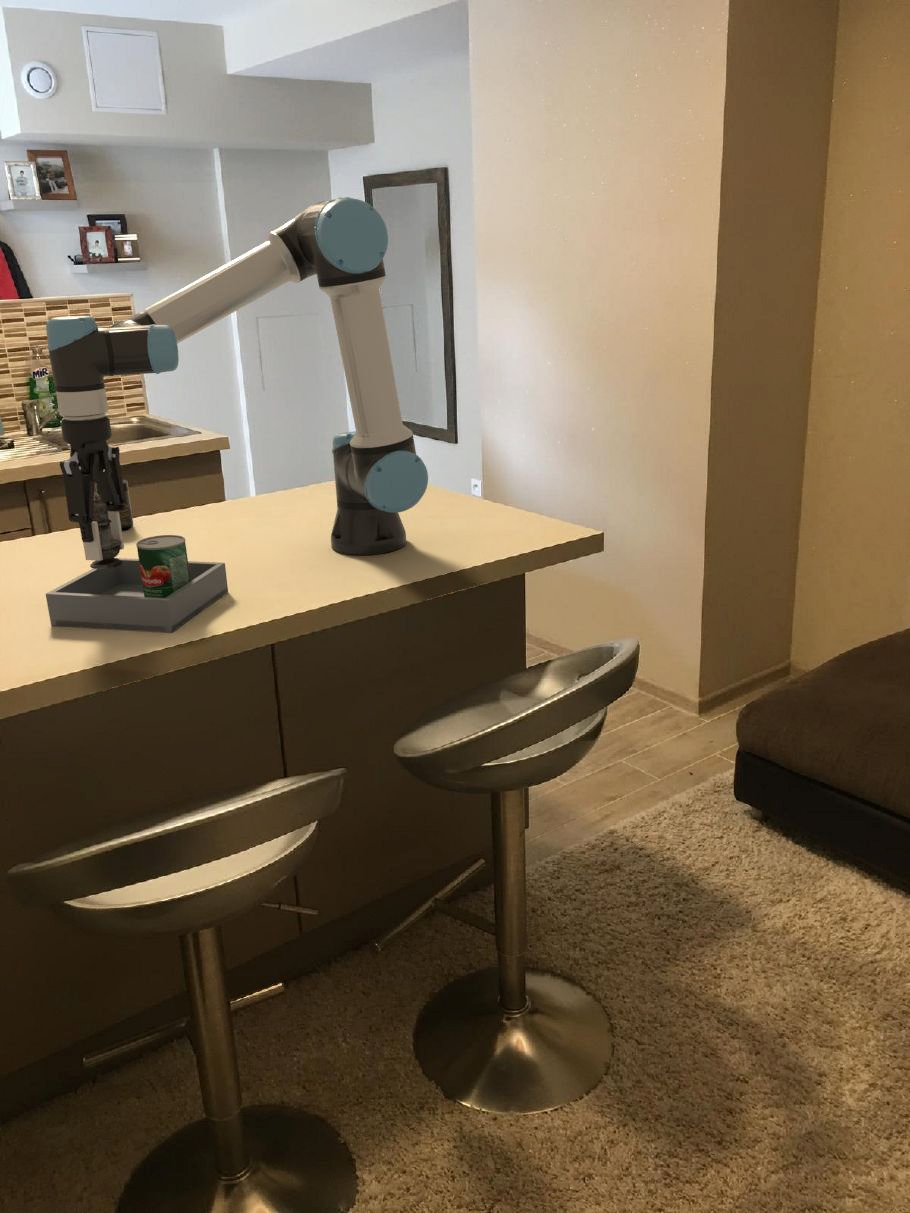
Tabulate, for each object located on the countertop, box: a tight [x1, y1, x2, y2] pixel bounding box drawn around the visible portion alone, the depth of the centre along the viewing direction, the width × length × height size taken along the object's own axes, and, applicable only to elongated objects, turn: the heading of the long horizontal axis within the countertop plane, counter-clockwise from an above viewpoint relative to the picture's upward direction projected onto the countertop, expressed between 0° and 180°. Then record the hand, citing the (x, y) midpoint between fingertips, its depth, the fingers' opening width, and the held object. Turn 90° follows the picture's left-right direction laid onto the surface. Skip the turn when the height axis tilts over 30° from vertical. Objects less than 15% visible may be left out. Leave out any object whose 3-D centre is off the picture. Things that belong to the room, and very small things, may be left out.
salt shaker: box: [89, 494, 123, 569], centre depth 169 cm, size 6×6×12 cm
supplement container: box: [94, 479, 134, 532], centre depth 222 cm, size 7×7×10 cm
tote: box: [45, 557, 229, 634], centre depth 172 cm, size 22×20×6 cm
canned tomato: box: [136, 534, 191, 598], centre depth 169 cm, size 8×8×11 cm
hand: (105, 553), depth 171 cm, fingers closed on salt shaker, 6 cm apart
